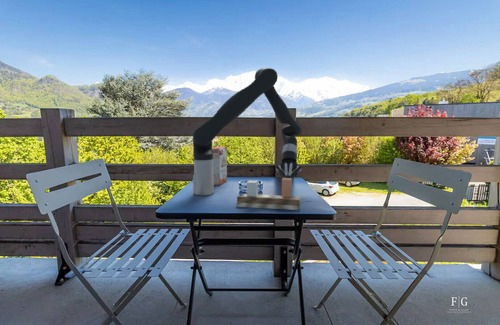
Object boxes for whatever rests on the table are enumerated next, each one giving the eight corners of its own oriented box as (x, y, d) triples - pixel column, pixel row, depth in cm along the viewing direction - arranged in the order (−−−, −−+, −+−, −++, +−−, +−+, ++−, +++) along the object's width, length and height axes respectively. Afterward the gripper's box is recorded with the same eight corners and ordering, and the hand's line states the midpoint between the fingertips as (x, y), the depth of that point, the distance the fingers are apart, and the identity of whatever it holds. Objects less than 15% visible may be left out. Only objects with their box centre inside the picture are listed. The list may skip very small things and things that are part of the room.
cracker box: (220, 185, 152) (219, 148, 149) (210, 185, 153) (209, 148, 150) (227, 180, 165) (227, 146, 162) (218, 180, 167) (217, 146, 164)
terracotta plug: (281, 197, 121) (281, 179, 120) (282, 194, 125) (282, 177, 124) (290, 197, 120) (291, 180, 119) (291, 195, 124) (291, 178, 123)
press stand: (236, 206, 115) (236, 197, 114) (244, 196, 129) (244, 188, 129) (299, 210, 110) (299, 200, 109) (300, 199, 124) (300, 191, 124)
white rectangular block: (247, 200, 116) (246, 182, 115) (249, 198, 120) (248, 180, 119) (256, 201, 115) (256, 182, 114) (257, 198, 119) (257, 180, 118)
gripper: (275, 149, 136) (272, 178, 126) (302, 150, 134) (301, 179, 124) (276, 158, 142) (274, 187, 132) (302, 159, 140) (301, 188, 130)
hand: (287, 183), depth 128 cm, fingers closed
